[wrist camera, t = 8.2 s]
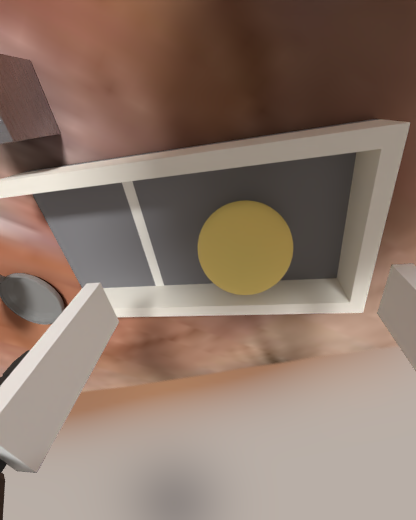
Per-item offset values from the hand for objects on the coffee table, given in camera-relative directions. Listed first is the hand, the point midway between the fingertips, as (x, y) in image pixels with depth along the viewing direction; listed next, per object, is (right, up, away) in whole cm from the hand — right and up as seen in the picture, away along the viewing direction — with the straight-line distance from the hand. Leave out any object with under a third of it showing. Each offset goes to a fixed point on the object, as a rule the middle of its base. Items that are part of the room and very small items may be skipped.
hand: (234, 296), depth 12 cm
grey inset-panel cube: (-14, +12, +5) cm, 19 cm away
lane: (-2, +4, +8) cm, 9 cm away
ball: (+1, +4, +7) cm, 8 cm away
